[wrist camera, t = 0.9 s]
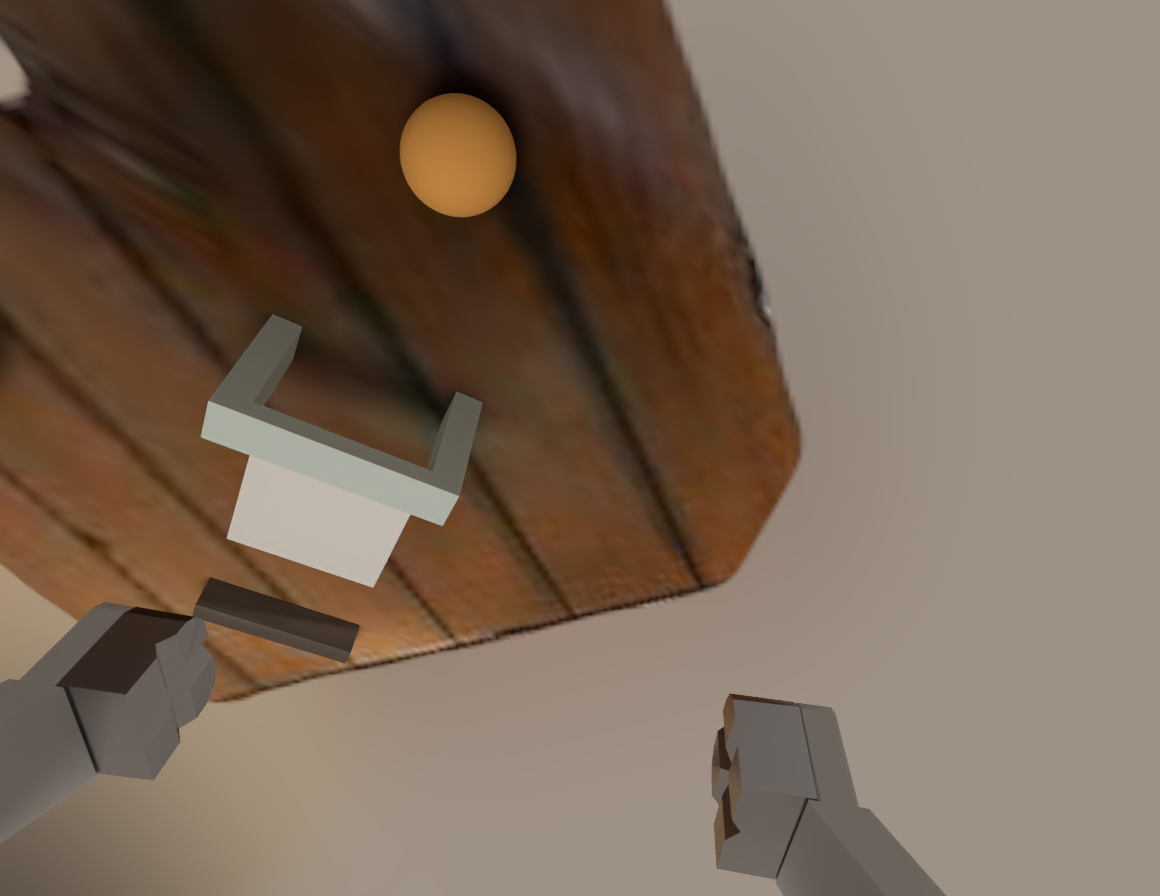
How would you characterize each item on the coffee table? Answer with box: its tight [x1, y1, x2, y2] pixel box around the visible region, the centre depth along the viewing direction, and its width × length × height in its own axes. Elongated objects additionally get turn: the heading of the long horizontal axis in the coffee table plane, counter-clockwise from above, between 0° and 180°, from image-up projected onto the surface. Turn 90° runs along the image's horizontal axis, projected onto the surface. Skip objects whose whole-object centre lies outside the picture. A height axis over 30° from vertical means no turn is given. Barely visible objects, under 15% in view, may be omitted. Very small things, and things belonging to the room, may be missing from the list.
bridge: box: [201, 314, 483, 526], centre depth 47 cm, size 3×15×10 cm, turn 63°
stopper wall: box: [192, 578, 359, 663], centre depth 68 cm, size 2×14×3 cm, turn 63°
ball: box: [400, 93, 516, 217], centre depth 38 cm, size 6×6×6 cm
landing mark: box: [227, 456, 410, 587], centre depth 60 cm, size 13×13×1 cm
